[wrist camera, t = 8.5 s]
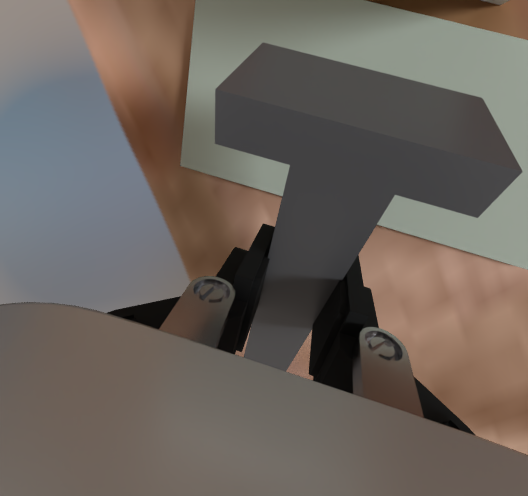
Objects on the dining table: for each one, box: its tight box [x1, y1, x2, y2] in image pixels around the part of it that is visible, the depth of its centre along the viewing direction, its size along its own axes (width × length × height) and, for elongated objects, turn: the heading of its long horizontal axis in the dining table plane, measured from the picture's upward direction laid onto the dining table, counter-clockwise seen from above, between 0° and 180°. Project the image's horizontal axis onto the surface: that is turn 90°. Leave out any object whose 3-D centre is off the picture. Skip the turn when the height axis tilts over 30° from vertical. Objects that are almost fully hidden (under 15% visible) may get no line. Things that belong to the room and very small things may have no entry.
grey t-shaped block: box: [215, 42, 523, 371], centre depth 13 cm, size 15×6×4 cm, turn 167°
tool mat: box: [180, 0, 528, 270], centre depth 14 cm, size 9×20×1 cm, turn 76°
